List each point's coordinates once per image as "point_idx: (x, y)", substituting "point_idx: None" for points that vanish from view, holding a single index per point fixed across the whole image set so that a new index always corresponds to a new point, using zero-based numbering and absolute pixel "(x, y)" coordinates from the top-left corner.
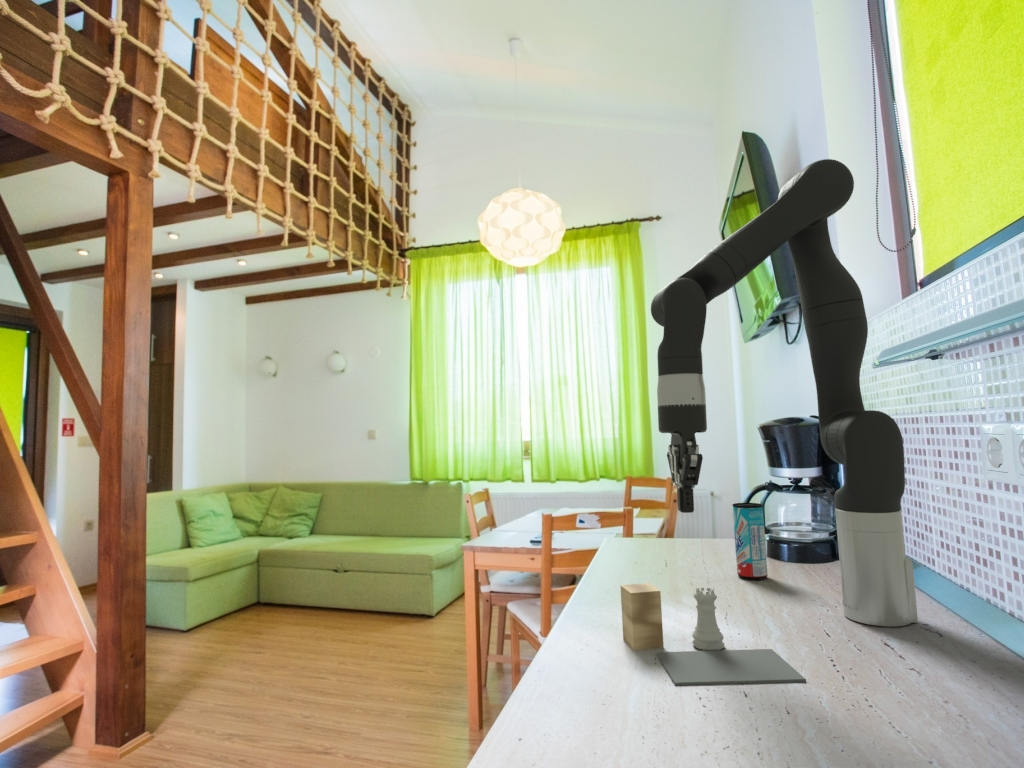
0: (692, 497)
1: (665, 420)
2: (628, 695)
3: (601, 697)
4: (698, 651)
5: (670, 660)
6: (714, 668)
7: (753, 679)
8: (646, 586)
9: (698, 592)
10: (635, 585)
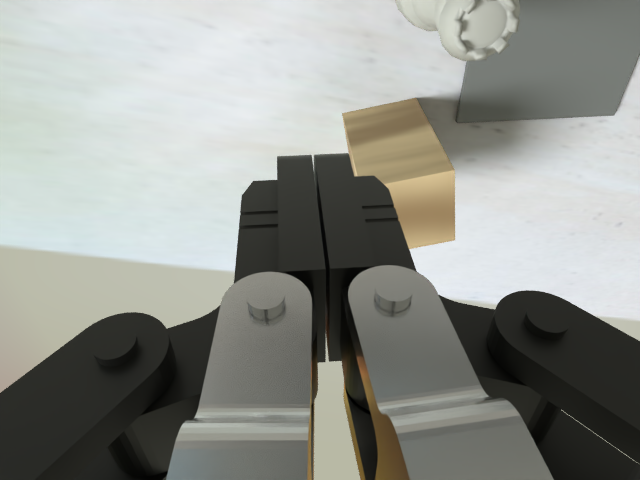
0: (361, 219)
1: None
2: (610, 190)
3: (598, 225)
4: None
5: (510, 102)
6: (587, 13)
7: None
8: (396, 198)
9: (485, 51)
10: None
